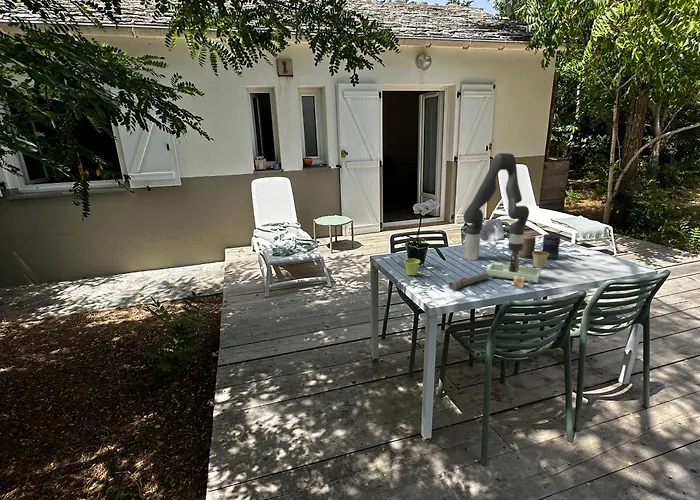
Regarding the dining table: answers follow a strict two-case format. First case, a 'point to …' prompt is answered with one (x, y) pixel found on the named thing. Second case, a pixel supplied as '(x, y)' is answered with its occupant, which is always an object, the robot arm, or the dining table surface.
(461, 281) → the flashlight
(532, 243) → the pillar candle
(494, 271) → the cart
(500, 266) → the grey part
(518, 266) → the walnut part
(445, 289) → the dining table surface
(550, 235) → the storage jar
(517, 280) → the beech part
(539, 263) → the flower pot
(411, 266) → the plant pot
